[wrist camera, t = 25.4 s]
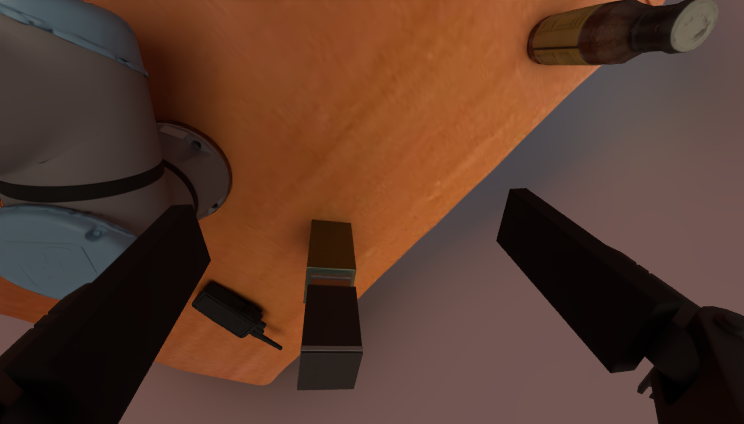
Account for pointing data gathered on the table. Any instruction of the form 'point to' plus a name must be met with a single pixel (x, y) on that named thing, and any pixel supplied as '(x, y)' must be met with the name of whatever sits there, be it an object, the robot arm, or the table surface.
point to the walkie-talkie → (232, 313)
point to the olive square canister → (330, 255)
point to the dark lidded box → (330, 339)
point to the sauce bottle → (621, 32)
